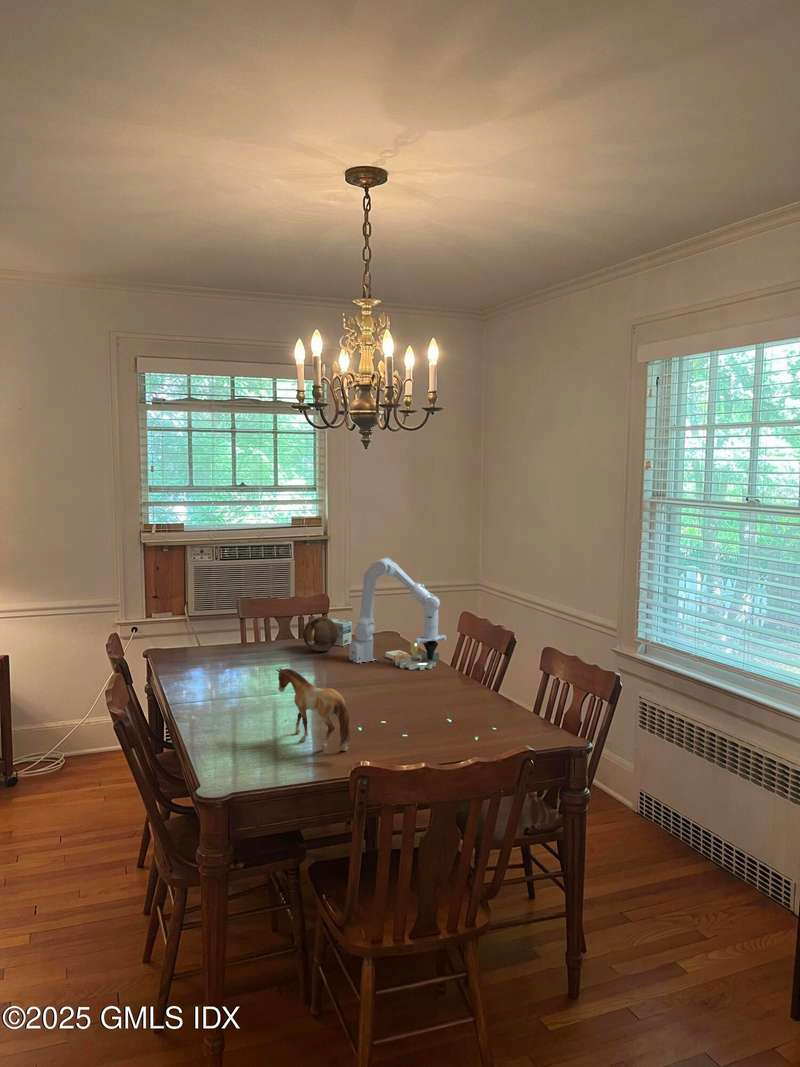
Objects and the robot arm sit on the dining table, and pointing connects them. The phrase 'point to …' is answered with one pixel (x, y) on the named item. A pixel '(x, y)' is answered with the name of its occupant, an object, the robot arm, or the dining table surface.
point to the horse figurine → (317, 705)
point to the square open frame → (395, 654)
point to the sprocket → (417, 661)
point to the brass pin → (413, 649)
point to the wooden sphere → (320, 634)
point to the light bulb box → (343, 631)
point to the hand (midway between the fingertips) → (430, 659)
